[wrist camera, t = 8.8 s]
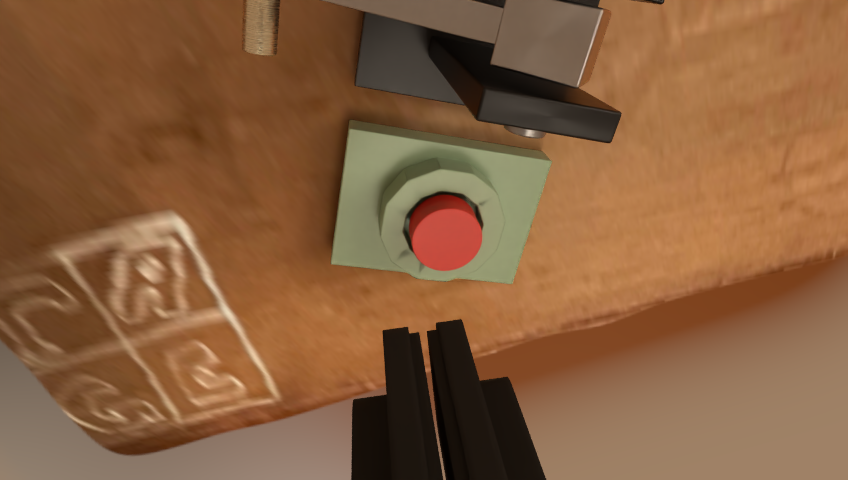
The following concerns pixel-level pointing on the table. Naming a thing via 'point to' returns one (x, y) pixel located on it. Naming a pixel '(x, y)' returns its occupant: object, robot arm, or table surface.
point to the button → (444, 233)
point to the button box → (424, 178)
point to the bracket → (476, 80)
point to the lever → (477, 31)
